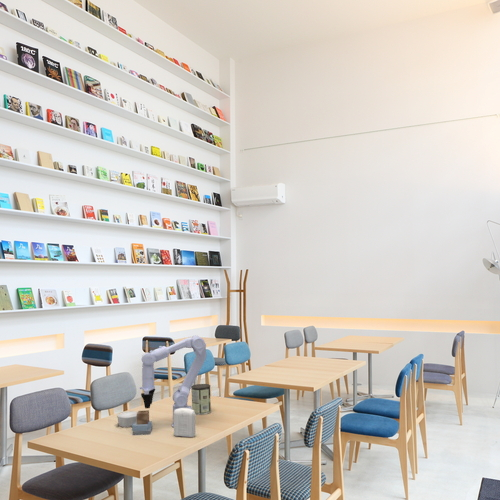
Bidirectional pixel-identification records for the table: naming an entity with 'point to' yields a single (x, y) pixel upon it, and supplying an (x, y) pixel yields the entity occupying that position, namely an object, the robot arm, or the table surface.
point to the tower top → (141, 426)
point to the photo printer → (184, 422)
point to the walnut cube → (142, 417)
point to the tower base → (143, 432)
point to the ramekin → (127, 418)
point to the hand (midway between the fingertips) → (148, 406)
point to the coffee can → (201, 399)
